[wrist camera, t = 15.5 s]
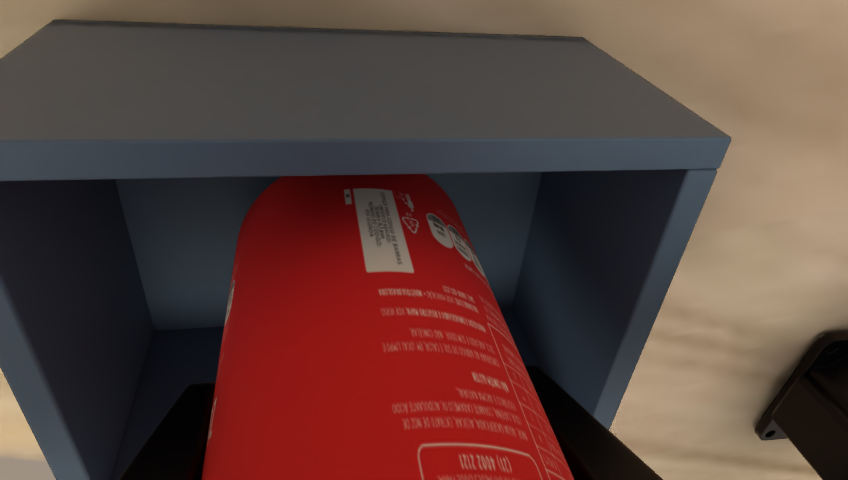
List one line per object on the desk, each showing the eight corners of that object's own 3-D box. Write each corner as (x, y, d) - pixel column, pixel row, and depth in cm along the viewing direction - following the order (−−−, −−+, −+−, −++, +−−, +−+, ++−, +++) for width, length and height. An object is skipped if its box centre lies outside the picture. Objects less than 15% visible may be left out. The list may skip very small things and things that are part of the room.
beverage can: (471, 272, 15) (763, 991, 6) (292, 332, 15) (285, 1143, 6) (423, 100, 12) (877, 1024, 3) (199, 175, 12) (-149, 1349, 3)
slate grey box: (733, 137, 9) (596, 463, 14) (583, 36, 14) (520, 307, 19) (-116, 141, 7) (79, 530, 12) (53, 18, 12) (140, 333, 17)
